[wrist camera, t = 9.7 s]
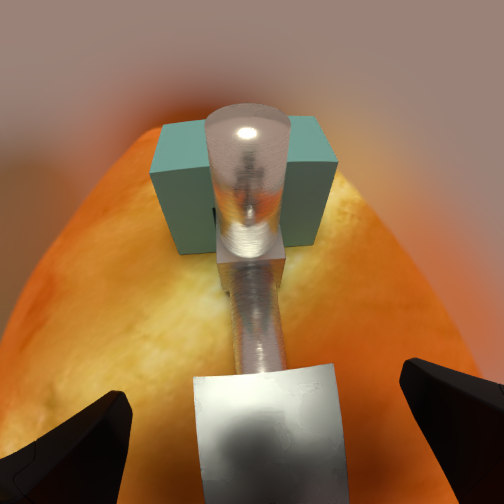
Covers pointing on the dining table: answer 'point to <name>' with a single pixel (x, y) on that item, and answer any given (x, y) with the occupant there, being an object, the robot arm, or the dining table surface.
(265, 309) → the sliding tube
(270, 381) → the grey rectangular box
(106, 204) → the dining table surface
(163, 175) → the teal block
